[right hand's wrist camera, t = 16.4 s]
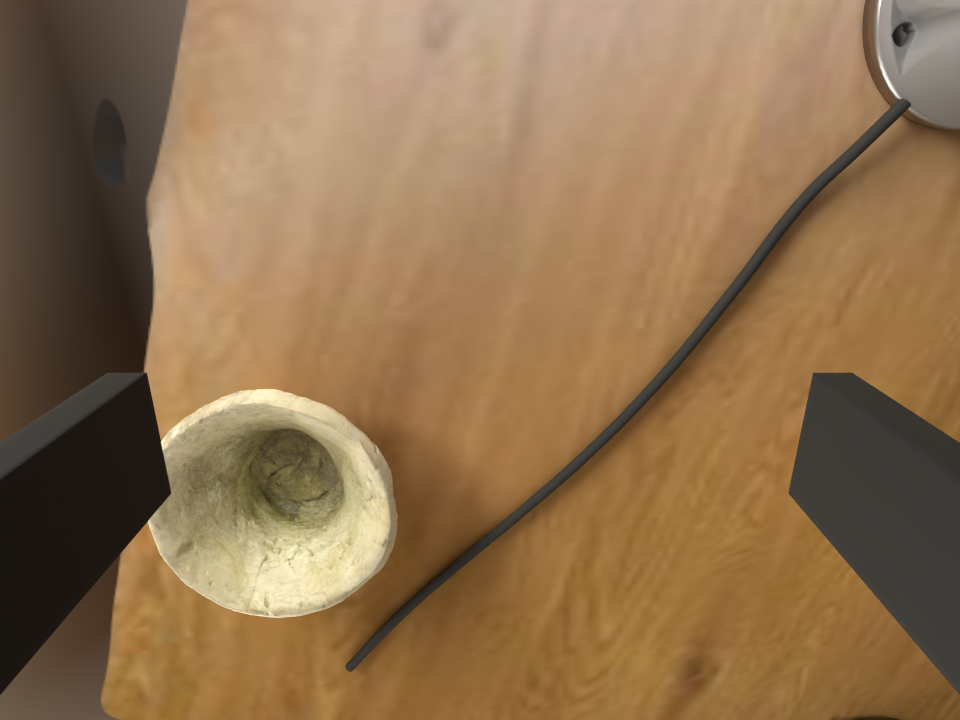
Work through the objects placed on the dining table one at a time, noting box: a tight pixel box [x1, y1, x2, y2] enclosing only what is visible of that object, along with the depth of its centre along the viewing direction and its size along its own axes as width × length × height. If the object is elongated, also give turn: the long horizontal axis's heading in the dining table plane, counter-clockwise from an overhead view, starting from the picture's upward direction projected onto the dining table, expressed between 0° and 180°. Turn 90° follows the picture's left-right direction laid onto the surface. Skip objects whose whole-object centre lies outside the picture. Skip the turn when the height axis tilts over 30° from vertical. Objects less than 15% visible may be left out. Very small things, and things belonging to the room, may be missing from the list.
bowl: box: [148, 389, 398, 618], centre depth 44 cm, size 14×18×15 cm
